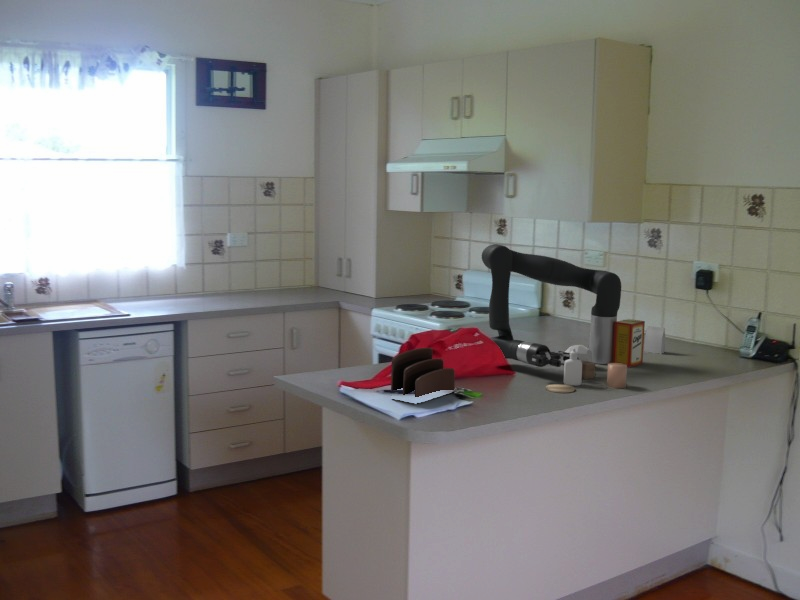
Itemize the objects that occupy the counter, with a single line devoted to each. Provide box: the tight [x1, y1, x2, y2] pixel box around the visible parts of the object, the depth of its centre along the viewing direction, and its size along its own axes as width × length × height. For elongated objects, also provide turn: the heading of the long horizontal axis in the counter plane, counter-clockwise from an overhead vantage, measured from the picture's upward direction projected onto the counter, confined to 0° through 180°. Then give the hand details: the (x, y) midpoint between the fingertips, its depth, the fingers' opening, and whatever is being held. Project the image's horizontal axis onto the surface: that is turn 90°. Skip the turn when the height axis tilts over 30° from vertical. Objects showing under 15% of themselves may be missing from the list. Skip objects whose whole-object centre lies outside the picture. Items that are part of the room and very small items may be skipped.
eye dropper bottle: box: [563, 348, 583, 387], centre depth 284 cm, size 4×6×12 cm
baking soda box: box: [613, 318, 645, 368], centre depth 316 cm, size 10×6×16 cm
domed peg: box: [606, 363, 628, 389], centre depth 283 cm, size 6×6×7 cm
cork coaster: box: [545, 383, 575, 394], centre depth 278 cm, size 9×9×1 cm
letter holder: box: [390, 347, 456, 397], centre depth 266 cm, size 10×20×14 cm, turn 141°
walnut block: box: [581, 360, 596, 380], centre depth 295 cm, size 5×5×5 cm
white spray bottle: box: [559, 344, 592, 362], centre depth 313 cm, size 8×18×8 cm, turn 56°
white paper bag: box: [643, 325, 666, 355], centre depth 338 cm, size 4×7×10 cm, turn 52°
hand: (569, 362), depth 285 cm, fingers open, 8 cm apart
